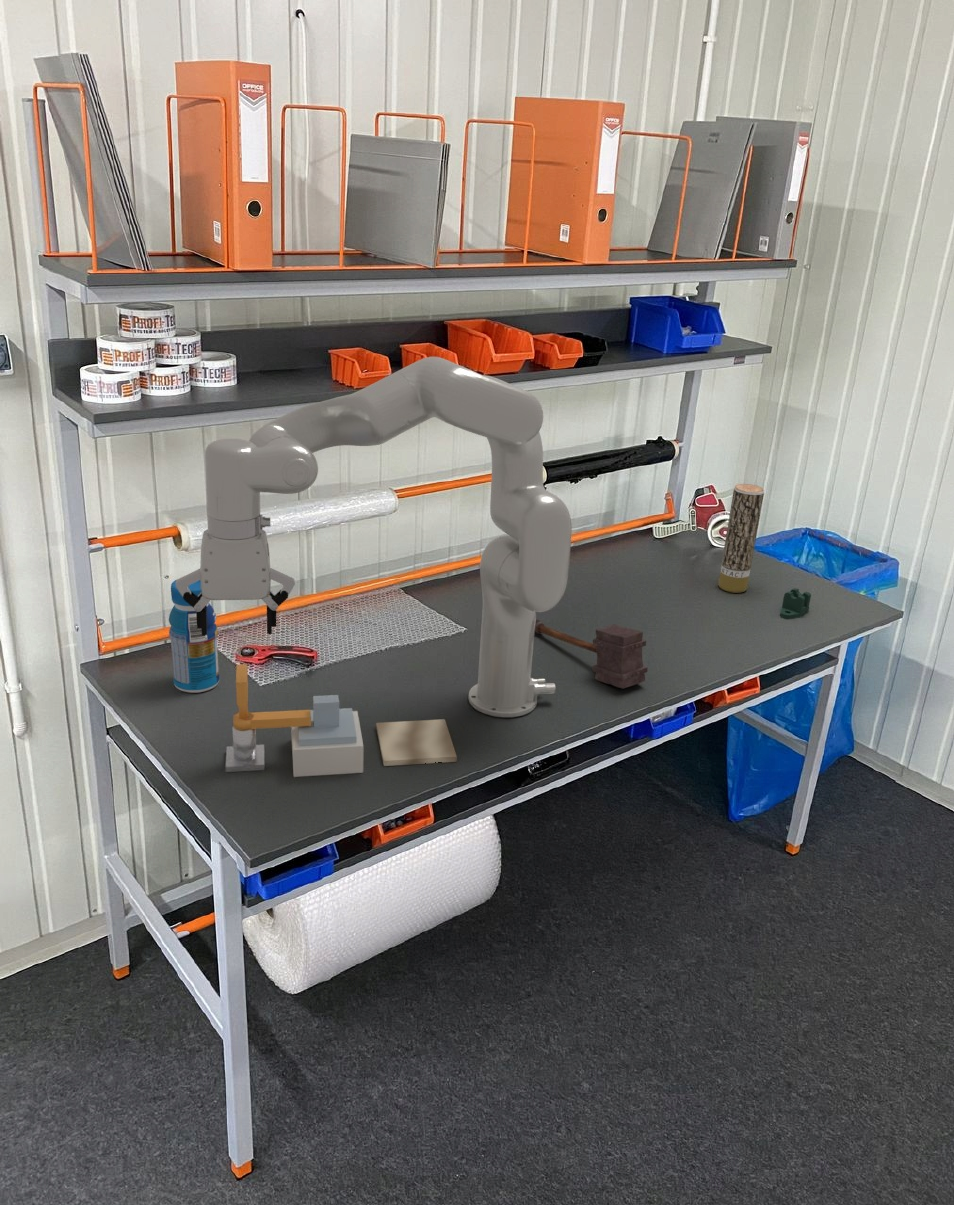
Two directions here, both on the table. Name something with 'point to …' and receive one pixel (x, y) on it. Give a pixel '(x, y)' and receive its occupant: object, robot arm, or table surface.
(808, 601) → the mount
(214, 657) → the beverage bottle
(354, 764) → the housing
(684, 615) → the table surface
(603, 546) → the table surface
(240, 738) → the grey square flange base
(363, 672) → the table surface
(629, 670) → the hammer
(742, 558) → the paper tube
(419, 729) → the pad
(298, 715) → the latch
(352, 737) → the cover
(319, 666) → the table surface
